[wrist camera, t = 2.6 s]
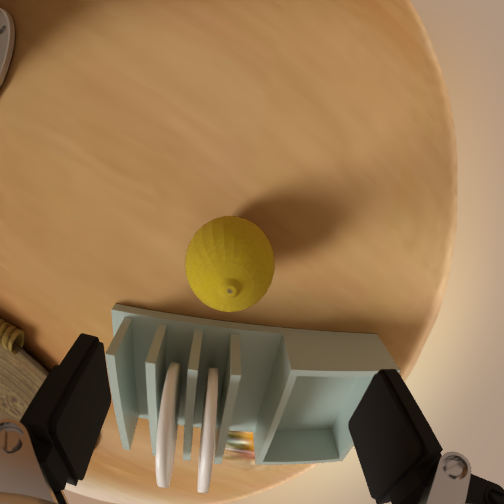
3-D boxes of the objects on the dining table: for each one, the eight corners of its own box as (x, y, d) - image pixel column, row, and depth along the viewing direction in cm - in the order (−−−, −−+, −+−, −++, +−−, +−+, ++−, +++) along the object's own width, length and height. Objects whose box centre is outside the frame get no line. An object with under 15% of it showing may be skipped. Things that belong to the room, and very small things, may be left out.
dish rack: (115, 303, 24) (57, 404, 13) (376, 333, 27) (433, 425, 16) (125, 407, 29) (100, 495, 18) (331, 425, 32) (356, 507, 21)
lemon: (282, 236, 23) (305, 283, 16) (235, 288, 25) (237, 351, 17) (224, 189, 22) (220, 216, 14) (178, 246, 23) (155, 298, 16)
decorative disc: (-37, 411, 30) (-88, 275, 19) (-29, 400, 33) (-73, 264, 22) (97, 482, 34) (87, 376, 24) (101, 467, 37) (98, 354, 27)
